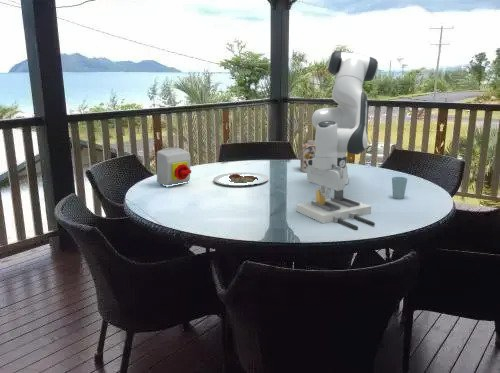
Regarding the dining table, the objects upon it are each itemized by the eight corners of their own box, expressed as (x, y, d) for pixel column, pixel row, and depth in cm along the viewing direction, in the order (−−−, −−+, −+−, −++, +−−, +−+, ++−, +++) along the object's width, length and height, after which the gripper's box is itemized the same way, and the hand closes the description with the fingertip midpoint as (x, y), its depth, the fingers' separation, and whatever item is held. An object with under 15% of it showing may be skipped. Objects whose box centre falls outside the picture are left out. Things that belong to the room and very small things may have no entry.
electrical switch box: (171, 193, 215) (171, 156, 208) (156, 184, 225) (156, 148, 218) (195, 188, 224) (196, 152, 217) (180, 180, 234) (180, 145, 227)
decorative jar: (322, 172, 246) (322, 141, 242) (302, 172, 246) (302, 142, 242) (319, 168, 258) (319, 139, 253) (300, 168, 258) (300, 139, 254)
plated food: (249, 191, 209) (249, 184, 208) (202, 184, 224) (202, 178, 224) (278, 178, 233) (278, 173, 233) (233, 173, 249) (233, 168, 248)
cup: (400, 194, 195) (401, 176, 193) (409, 198, 189) (410, 179, 187) (387, 196, 193) (388, 177, 191) (396, 200, 187) (397, 180, 185)
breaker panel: (296, 211, 174) (296, 201, 173) (341, 202, 185) (342, 193, 184) (323, 223, 159) (323, 212, 158) (370, 213, 169) (371, 203, 168)
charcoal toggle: (334, 200, 177) (334, 186, 176) (340, 199, 179) (340, 185, 177) (337, 201, 176) (337, 187, 174) (343, 200, 177) (343, 186, 176)
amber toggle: (316, 204, 172) (316, 190, 171) (322, 203, 173) (322, 189, 172) (319, 205, 170) (319, 191, 169) (325, 204, 172) (325, 190, 170)
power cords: (332, 221, 161) (333, 216, 160) (353, 216, 166) (353, 211, 165) (354, 230, 150) (355, 225, 150) (376, 225, 155) (376, 220, 154)
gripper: (349, 166, 158) (348, 201, 161) (316, 158, 175) (316, 190, 179) (336, 168, 155) (335, 204, 158) (304, 159, 173) (304, 192, 176)
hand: (325, 196), depth 169 cm, fingers closed
